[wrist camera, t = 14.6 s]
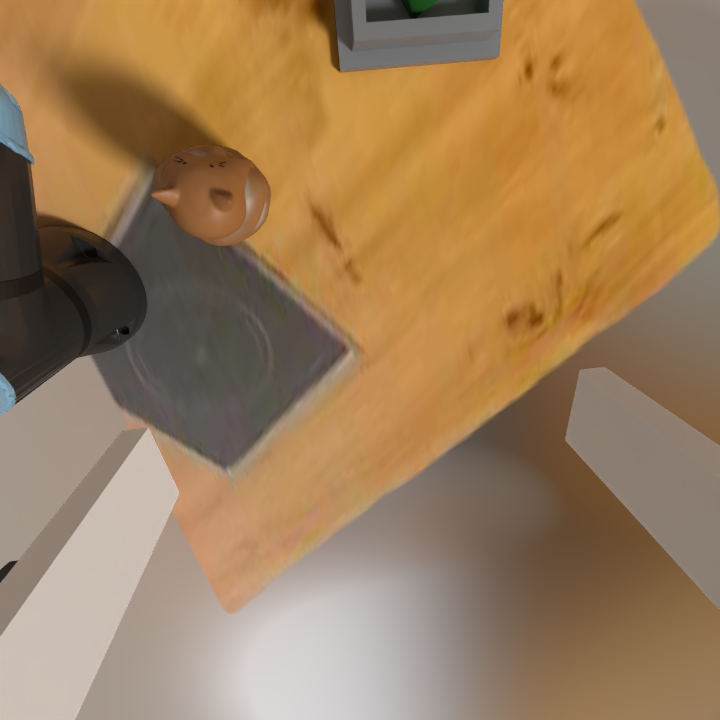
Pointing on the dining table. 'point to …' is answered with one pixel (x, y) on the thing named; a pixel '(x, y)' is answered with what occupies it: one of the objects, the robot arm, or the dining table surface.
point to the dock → (415, 33)
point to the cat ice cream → (213, 193)
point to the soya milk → (417, 6)
